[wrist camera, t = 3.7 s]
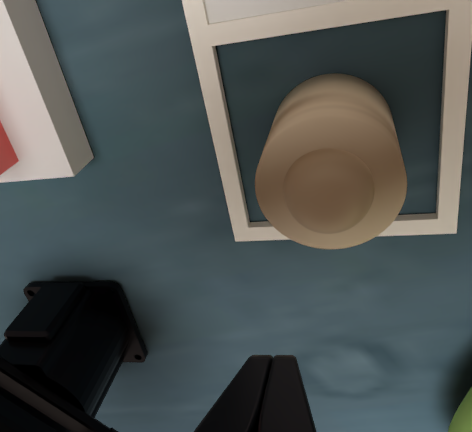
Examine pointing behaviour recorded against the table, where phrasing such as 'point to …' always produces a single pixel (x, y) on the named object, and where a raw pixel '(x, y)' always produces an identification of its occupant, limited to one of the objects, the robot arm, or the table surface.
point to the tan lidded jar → (331, 164)
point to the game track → (315, 18)
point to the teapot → (463, 415)
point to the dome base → (35, 102)
